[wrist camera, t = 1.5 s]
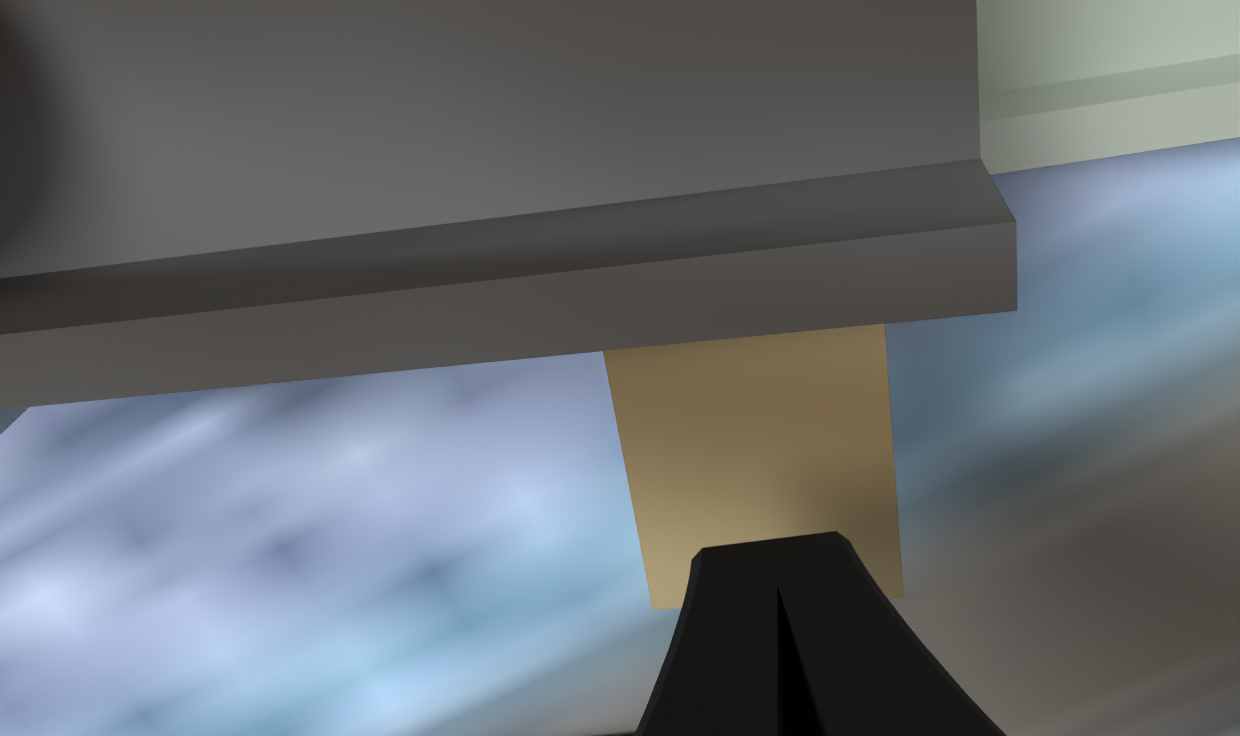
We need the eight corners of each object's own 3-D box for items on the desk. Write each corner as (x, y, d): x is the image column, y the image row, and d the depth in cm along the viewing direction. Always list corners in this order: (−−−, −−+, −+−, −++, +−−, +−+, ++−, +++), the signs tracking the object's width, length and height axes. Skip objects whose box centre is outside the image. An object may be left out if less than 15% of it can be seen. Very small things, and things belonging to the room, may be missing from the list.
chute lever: (980, 551, 14) (1022, 703, 11) (-41, 610, 16) (-174, 744, 14) (943, -674, 9) (1002, -844, 6) (-522, -295, 11) (-855, -318, 9)
